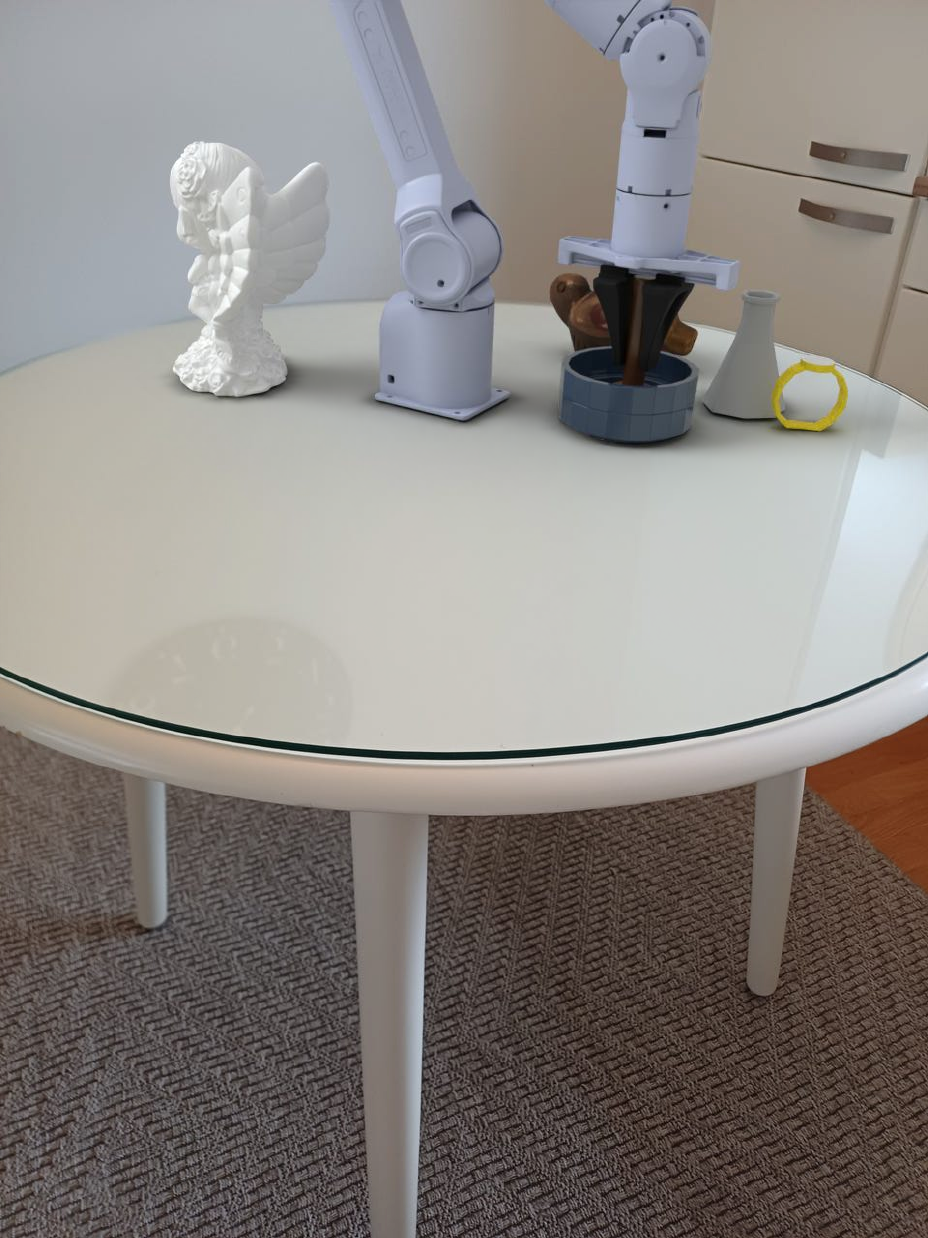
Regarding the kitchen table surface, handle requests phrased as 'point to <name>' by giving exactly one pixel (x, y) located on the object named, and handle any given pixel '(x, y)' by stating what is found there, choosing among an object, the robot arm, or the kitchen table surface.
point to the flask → (749, 363)
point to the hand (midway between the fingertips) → (634, 365)
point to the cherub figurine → (242, 261)
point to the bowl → (626, 397)
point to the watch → (818, 366)
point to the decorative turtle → (602, 317)
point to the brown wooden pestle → (635, 335)
